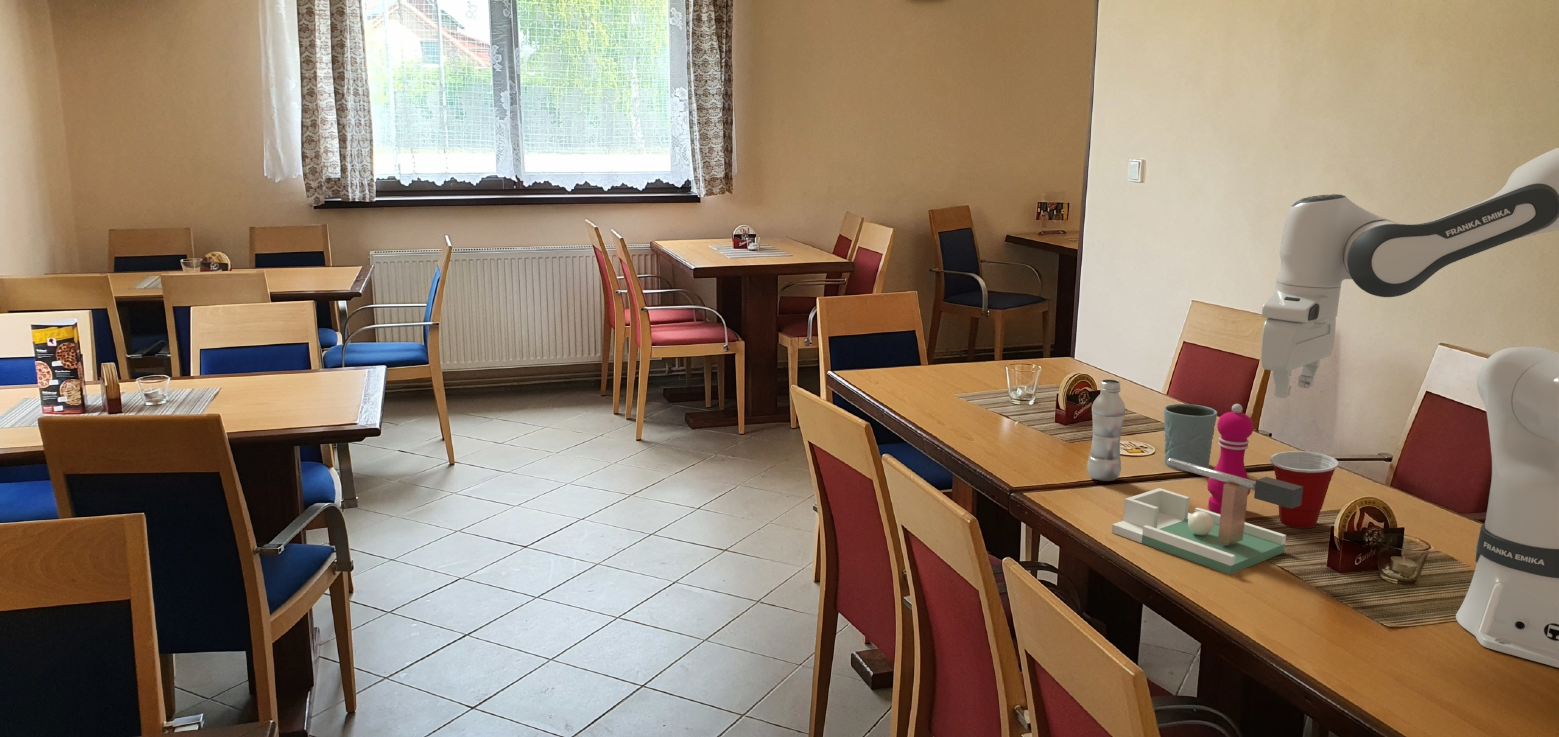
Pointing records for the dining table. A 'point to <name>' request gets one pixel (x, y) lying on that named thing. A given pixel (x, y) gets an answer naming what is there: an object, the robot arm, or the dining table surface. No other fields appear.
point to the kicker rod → (1243, 497)
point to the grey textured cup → (1189, 433)
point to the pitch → (1166, 528)
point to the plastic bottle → (1106, 432)
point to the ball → (1200, 523)
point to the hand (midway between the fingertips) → (1293, 392)
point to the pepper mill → (1230, 452)
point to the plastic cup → (1304, 484)
